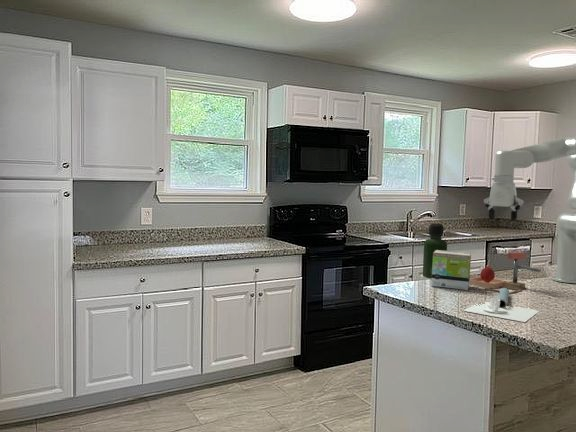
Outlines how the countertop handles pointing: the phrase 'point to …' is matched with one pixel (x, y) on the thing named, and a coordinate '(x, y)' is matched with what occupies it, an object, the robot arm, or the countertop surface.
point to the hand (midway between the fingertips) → (502, 219)
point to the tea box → (451, 269)
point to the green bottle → (432, 247)
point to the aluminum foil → (503, 297)
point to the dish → (479, 282)
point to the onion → (487, 274)
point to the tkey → (516, 257)
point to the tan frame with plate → (510, 287)
